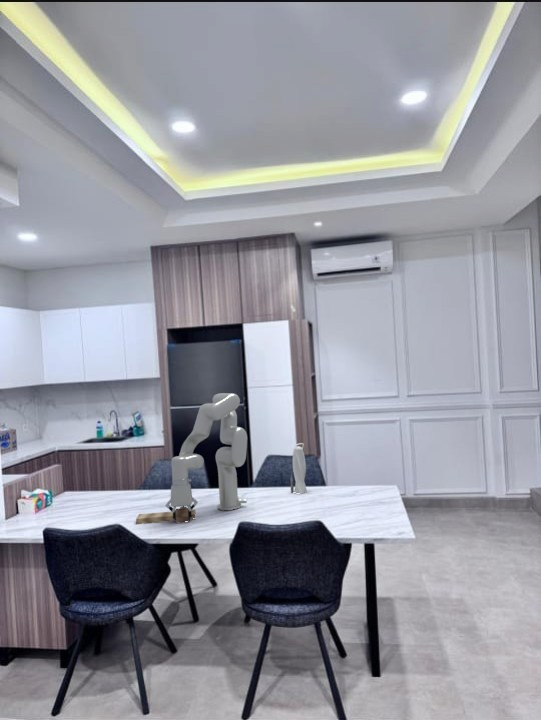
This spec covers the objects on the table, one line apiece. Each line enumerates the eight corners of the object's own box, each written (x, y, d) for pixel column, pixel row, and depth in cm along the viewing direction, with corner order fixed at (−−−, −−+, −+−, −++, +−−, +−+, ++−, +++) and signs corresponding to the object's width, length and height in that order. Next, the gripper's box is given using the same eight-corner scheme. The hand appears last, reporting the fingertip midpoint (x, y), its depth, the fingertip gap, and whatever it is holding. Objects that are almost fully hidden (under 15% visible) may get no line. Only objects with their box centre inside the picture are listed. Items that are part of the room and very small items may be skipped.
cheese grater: (300, 490, 284) (298, 442, 285) (310, 492, 278) (307, 443, 278) (290, 493, 278) (287, 444, 279) (299, 495, 272) (296, 445, 273)
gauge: (190, 515, 243) (189, 501, 243) (188, 522, 232) (187, 507, 232) (178, 516, 242) (177, 502, 243) (176, 523, 231) (175, 508, 232)
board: (195, 514, 245) (195, 509, 245) (194, 519, 237) (194, 514, 237) (139, 519, 242) (139, 514, 242) (136, 524, 234) (136, 518, 234)
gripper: (198, 479, 239) (200, 515, 238) (163, 481, 237) (165, 518, 237) (198, 482, 231) (200, 520, 231) (161, 485, 230) (163, 523, 229)
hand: (182, 519), depth 234 cm, fingers closed on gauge, 6 cm apart
